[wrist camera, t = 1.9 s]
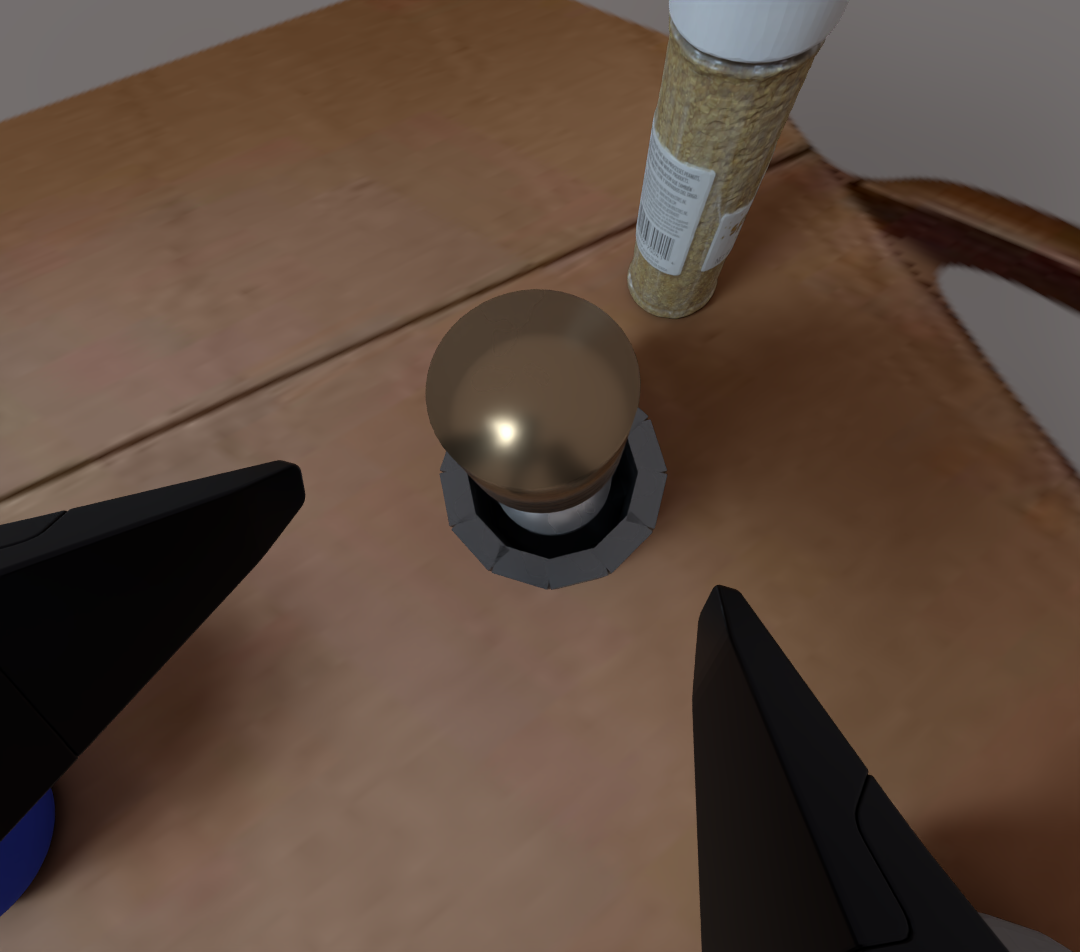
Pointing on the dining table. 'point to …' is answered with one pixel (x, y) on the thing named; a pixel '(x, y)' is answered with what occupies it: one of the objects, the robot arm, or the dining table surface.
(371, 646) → the dining table surface
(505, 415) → the plunger
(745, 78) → the sprinkles bottle
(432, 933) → the dining table surface
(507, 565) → the press body
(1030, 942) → the coffee pot
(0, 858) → the mug
